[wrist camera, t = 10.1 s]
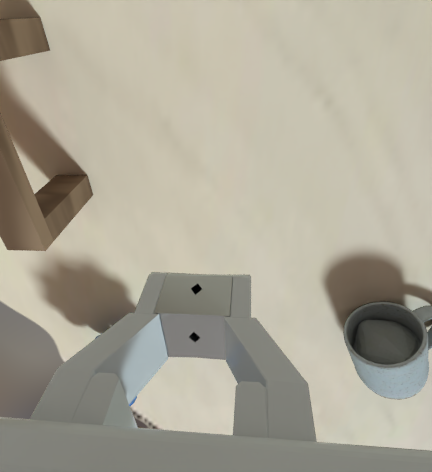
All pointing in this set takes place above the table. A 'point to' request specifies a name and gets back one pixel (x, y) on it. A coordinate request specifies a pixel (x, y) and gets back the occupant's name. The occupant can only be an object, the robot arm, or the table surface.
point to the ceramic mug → (390, 347)
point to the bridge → (14, 177)
